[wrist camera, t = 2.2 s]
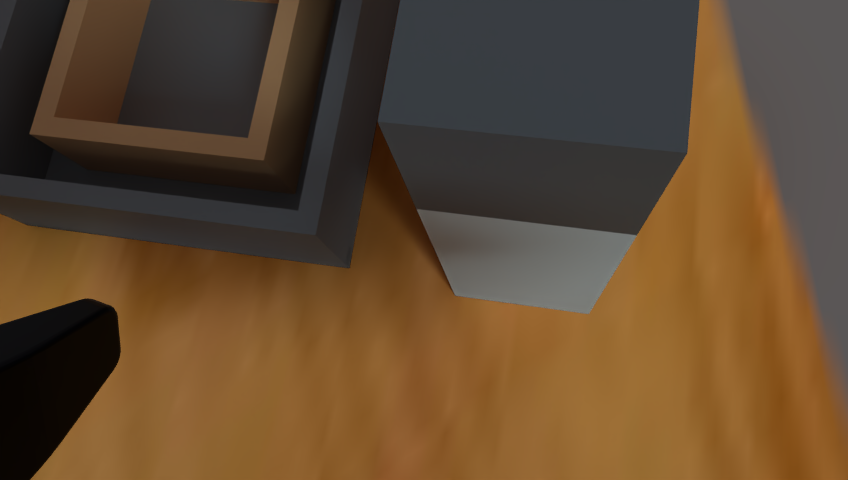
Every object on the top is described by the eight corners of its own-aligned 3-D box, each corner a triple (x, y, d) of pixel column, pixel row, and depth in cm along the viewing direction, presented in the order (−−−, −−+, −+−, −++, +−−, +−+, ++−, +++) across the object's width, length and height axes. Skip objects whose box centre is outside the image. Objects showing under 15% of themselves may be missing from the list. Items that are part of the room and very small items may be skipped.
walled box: (349, 268, 23) (315, 235, 19) (27, 224, 25) (-63, 186, 21) (407, -45, 26) (388, -130, 22) (112, -64, 27) (46, -146, 23)
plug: (589, 313, 22) (687, 153, 9) (454, 295, 22) (376, 121, 10) (602, 186, 23) (708, -118, 10) (473, 171, 23) (424, -131, 11)
